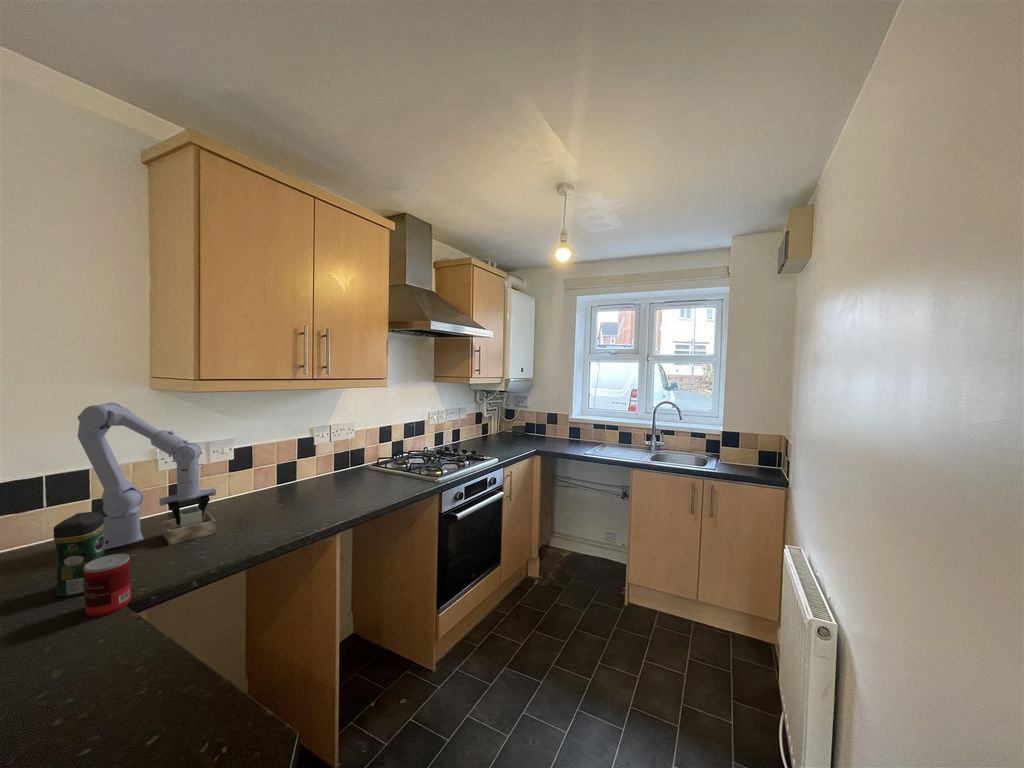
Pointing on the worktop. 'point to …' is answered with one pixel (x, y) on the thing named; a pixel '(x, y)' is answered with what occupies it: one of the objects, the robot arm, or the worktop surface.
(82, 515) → the coffee jar
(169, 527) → the box
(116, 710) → the worktop surface
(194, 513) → the box
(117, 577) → the canned food
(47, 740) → the worktop surface
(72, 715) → the worktop surface
